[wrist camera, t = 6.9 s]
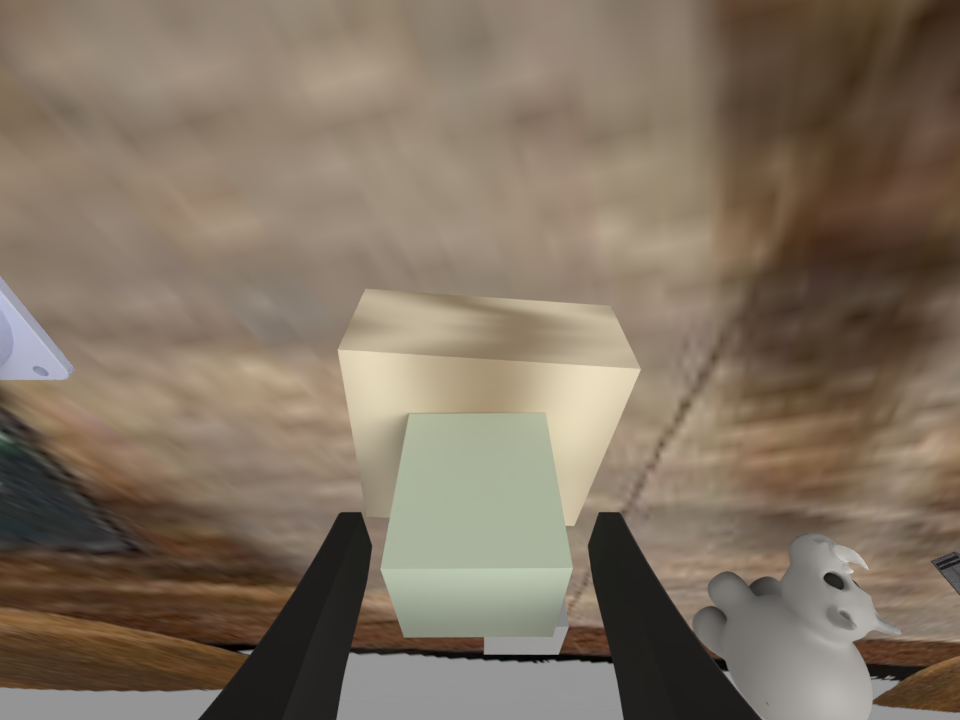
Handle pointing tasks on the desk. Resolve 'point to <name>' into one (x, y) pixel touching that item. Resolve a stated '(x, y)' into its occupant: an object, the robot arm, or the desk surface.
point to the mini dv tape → (949, 569)
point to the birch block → (483, 378)
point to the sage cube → (477, 528)
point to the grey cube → (530, 641)
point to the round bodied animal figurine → (796, 634)
